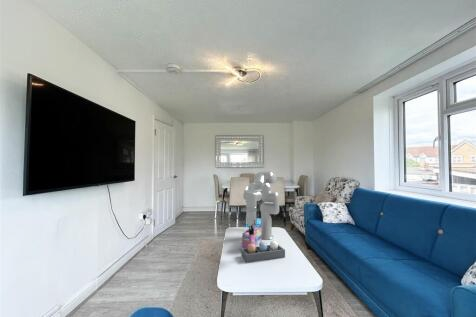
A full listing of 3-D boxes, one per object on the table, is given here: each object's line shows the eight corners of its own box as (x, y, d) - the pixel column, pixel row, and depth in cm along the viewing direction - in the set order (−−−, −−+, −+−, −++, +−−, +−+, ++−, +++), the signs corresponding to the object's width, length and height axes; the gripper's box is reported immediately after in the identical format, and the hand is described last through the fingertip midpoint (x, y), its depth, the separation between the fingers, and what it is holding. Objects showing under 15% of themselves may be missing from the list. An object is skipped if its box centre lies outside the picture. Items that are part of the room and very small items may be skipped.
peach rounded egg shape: (246, 252, 164) (246, 244, 164) (253, 251, 166) (253, 243, 166) (249, 255, 159) (249, 246, 159) (256, 254, 161) (256, 246, 161)
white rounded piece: (269, 249, 170) (268, 241, 170) (275, 248, 171) (275, 240, 171) (272, 252, 164) (272, 244, 164) (279, 251, 166) (279, 243, 166)
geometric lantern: (252, 227, 241) (253, 194, 241) (264, 230, 231) (265, 196, 231) (243, 230, 229) (244, 196, 229) (256, 233, 219) (257, 198, 219)
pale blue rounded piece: (258, 250, 167) (258, 242, 167) (264, 249, 169) (264, 241, 169) (260, 253, 162) (260, 245, 162) (268, 252, 163) (267, 244, 163)
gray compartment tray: (241, 255, 166) (241, 248, 167) (277, 251, 175) (277, 244, 175) (246, 262, 155) (246, 254, 155) (285, 257, 164) (285, 249, 164)
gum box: (253, 241, 198) (253, 225, 198) (262, 242, 194) (262, 226, 194) (242, 250, 176) (241, 233, 177) (251, 252, 173) (251, 234, 173)
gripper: (243, 207, 169) (243, 231, 169) (250, 211, 155) (250, 238, 154) (252, 207, 171) (252, 231, 171) (260, 210, 157) (260, 237, 156)
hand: (251, 234), depth 163 cm, fingers closed
